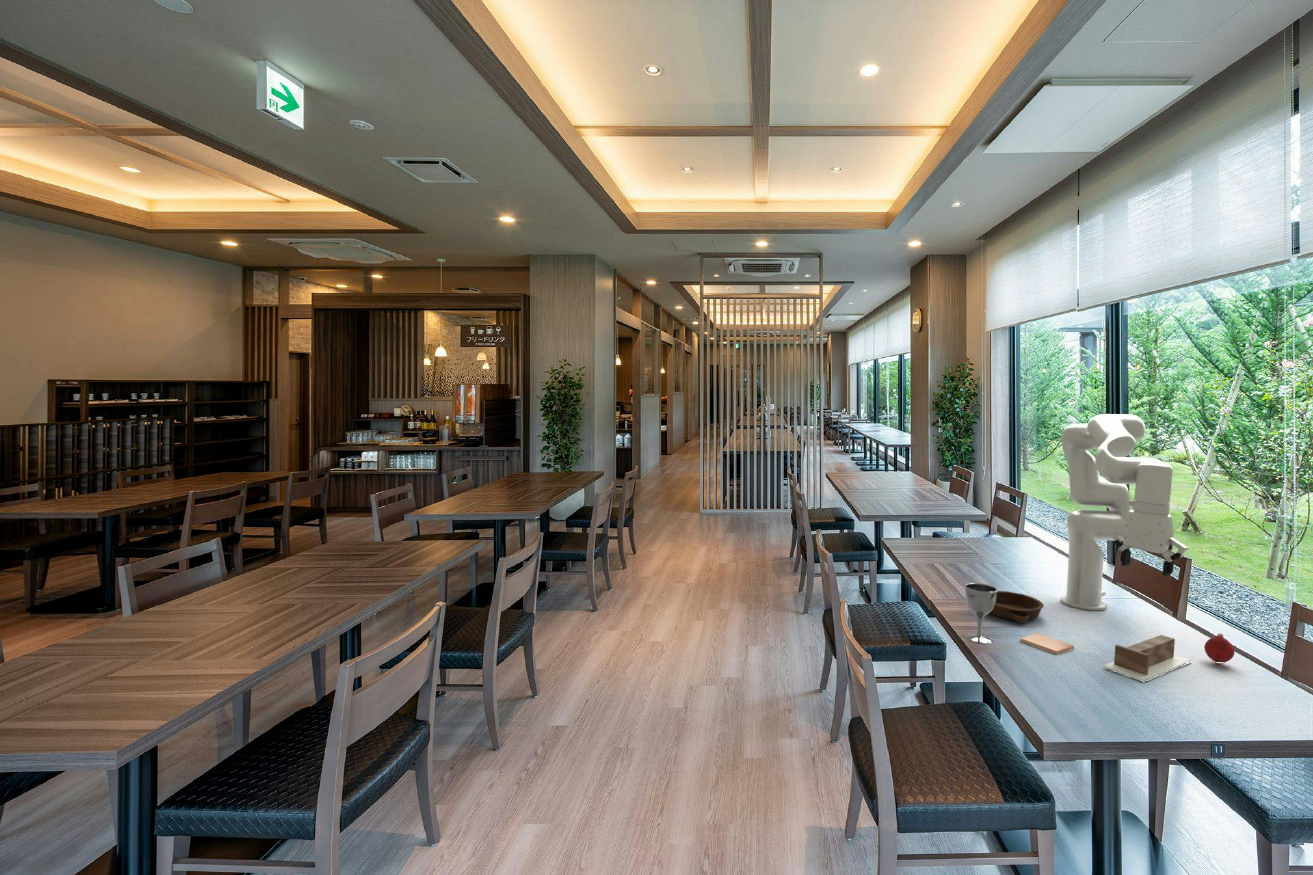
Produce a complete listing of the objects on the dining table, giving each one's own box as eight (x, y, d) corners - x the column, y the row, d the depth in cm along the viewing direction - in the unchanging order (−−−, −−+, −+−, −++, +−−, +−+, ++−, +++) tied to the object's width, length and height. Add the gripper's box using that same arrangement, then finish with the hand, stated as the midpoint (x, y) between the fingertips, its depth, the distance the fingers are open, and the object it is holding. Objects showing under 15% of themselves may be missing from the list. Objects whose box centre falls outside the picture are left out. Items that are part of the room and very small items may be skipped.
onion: (1235, 670, 160) (1238, 639, 159) (1206, 665, 163) (1208, 634, 162) (1230, 662, 165) (1232, 632, 164) (1201, 657, 168) (1203, 627, 167)
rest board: (1150, 650, 172) (1150, 647, 172) (1190, 663, 164) (1191, 660, 164) (1103, 668, 160) (1103, 665, 160) (1144, 682, 152) (1144, 679, 152)
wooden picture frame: (1037, 633, 181) (1020, 638, 177) (1073, 645, 172) (1056, 651, 169) (1037, 637, 181) (1020, 642, 177) (1073, 650, 172) (1056, 656, 169)
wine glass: (982, 646, 173) (985, 593, 172) (957, 636, 181) (959, 585, 179) (1000, 641, 177) (1003, 589, 176) (975, 631, 184) (977, 581, 183)
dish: (988, 623, 192) (989, 607, 191) (972, 600, 213) (973, 586, 212) (1053, 629, 187) (1054, 613, 187) (1030, 605, 208) (1031, 590, 208)
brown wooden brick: (1151, 650, 170) (1152, 632, 170) (1182, 660, 164) (1184, 641, 163) (1114, 664, 161) (1115, 645, 160) (1145, 675, 155) (1147, 655, 154)
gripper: (1108, 503, 175) (1103, 563, 177) (1183, 516, 160) (1177, 581, 162) (1122, 500, 178) (1117, 559, 180) (1197, 513, 163) (1191, 577, 165)
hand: (1145, 569), depth 171 cm, fingers open, 9 cm apart
